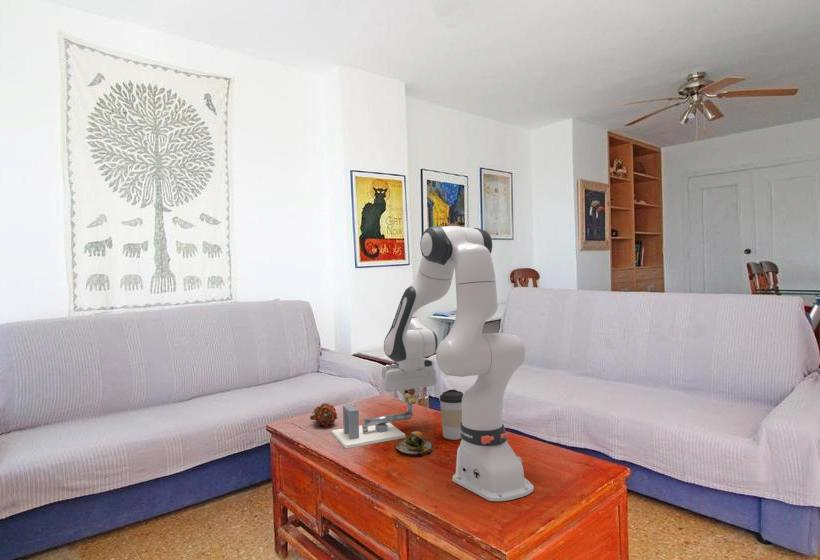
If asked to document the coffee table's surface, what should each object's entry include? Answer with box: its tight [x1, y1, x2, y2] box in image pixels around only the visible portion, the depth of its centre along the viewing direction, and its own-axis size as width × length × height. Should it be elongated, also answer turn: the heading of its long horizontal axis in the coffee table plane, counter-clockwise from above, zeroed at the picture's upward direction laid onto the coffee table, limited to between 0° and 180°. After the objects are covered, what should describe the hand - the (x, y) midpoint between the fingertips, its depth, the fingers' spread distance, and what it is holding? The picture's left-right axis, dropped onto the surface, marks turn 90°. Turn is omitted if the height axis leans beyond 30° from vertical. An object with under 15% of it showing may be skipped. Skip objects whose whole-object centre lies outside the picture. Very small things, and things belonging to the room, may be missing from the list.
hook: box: [361, 392, 417, 432], centre depth 171 cm, size 19×6×10 cm, turn 115°
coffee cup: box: [438, 389, 464, 440], centre depth 166 cm, size 9×9×15 cm
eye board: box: [331, 403, 407, 450], centre depth 168 cm, size 21×16×10 cm
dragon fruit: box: [309, 402, 338, 427], centre depth 180 cm, size 8×8×12 cm
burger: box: [394, 425, 434, 457], centre depth 154 cm, size 12×12×8 cm
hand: (409, 401), depth 174 cm, fingers closed on hook, 2 cm apart
